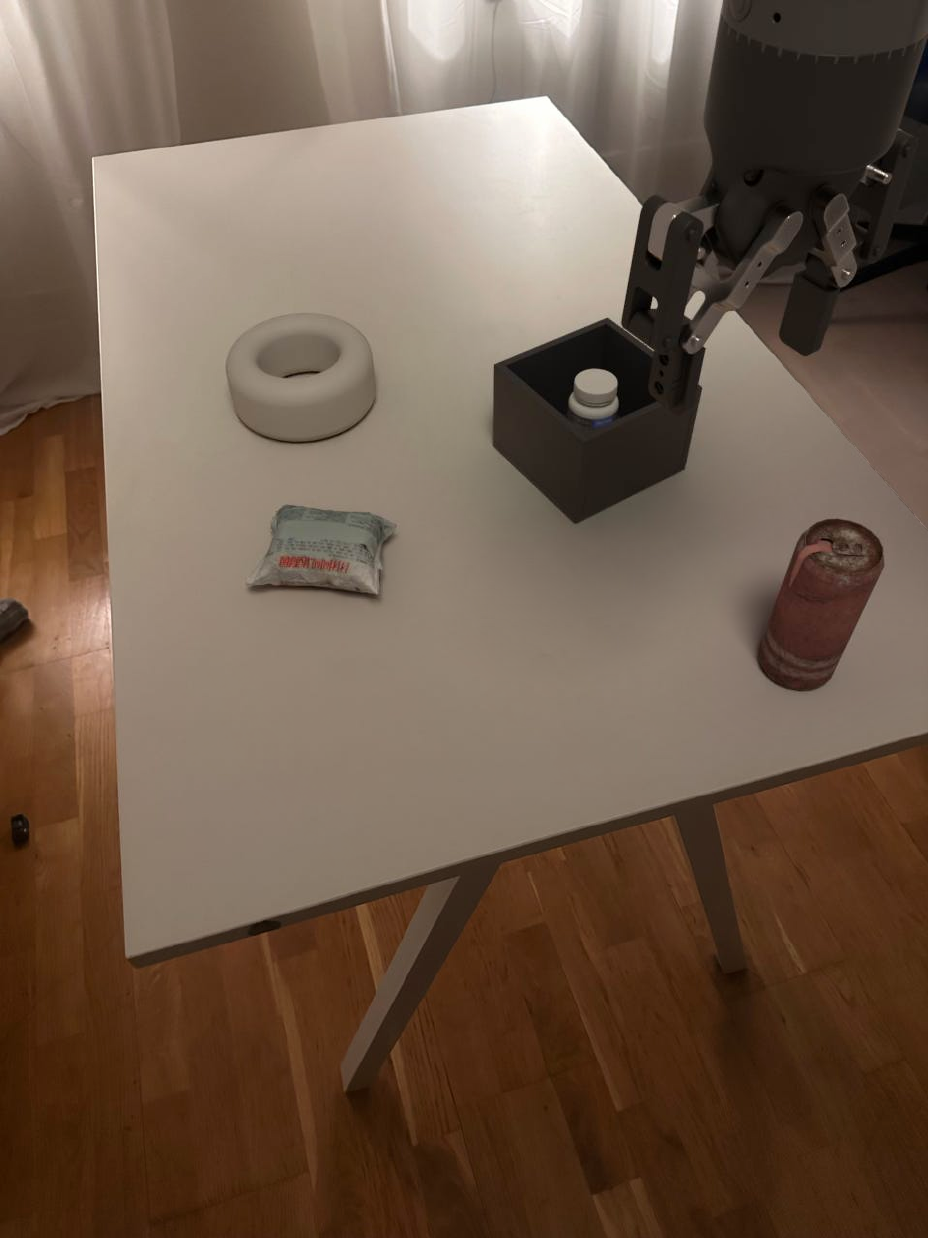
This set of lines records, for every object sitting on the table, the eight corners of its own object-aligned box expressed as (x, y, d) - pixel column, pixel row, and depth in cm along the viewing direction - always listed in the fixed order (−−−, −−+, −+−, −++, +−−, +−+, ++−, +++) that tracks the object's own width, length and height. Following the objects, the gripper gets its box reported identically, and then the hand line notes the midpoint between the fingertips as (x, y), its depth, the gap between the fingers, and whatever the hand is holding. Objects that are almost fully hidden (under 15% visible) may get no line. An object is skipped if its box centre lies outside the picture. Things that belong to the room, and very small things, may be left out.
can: (739, 647, 80) (780, 527, 69) (805, 626, 81) (855, 505, 70) (780, 703, 76) (829, 586, 65) (848, 680, 77) (907, 561, 67)
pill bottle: (593, 473, 93) (602, 403, 86) (554, 453, 94) (560, 383, 88) (621, 448, 95) (631, 378, 88) (582, 429, 97) (589, 359, 90)
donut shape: (207, 424, 99) (192, 370, 94) (283, 346, 108) (273, 293, 103) (332, 462, 95) (323, 408, 90) (401, 379, 104) (397, 325, 99)
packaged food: (380, 611, 83) (375, 572, 79) (248, 599, 84) (237, 559, 80) (399, 541, 88) (395, 501, 85) (274, 530, 90) (265, 490, 86)
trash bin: (598, 398, 101) (607, 316, 94) (685, 469, 94) (702, 386, 86) (492, 446, 97) (493, 364, 89) (575, 524, 89) (583, 442, 82)
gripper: (758, 86, 31) (678, 471, 43) (1037, -6, 36) (893, 363, 48) (610, 17, 35) (576, 387, 47) (879, -57, 40) (784, 295, 52)
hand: (736, 375), depth 48 cm, fingers open, 8 cm apart
